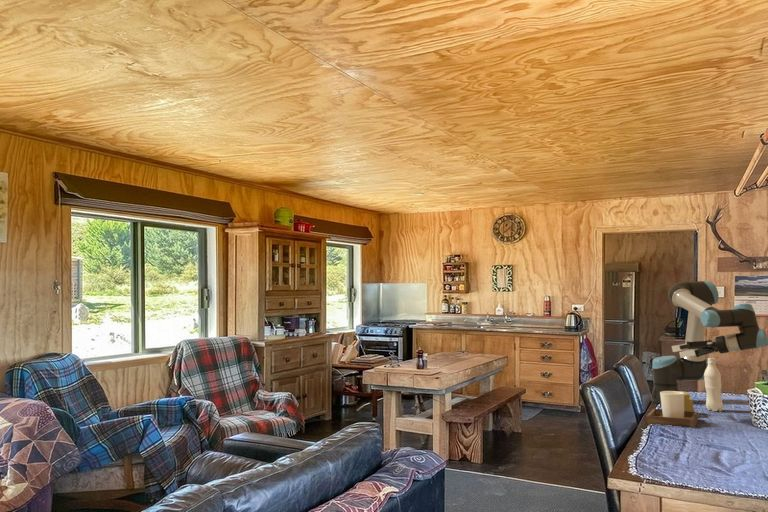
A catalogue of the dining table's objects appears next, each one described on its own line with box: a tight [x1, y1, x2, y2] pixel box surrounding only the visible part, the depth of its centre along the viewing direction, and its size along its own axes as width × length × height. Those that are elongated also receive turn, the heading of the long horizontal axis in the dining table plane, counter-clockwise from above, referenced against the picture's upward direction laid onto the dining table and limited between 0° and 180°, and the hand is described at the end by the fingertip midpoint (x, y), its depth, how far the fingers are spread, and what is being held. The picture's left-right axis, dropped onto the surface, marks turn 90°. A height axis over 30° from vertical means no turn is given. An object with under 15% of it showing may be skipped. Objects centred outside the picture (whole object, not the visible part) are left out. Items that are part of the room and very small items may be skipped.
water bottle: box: [703, 357, 724, 412], centre depth 282 cm, size 7×7×25 cm
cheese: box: [679, 390, 696, 412], centre depth 275 cm, size 10×11×10 cm
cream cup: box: [660, 391, 684, 418], centre depth 259 cm, size 10×10×12 cm
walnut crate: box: [645, 408, 699, 429], centre depth 260 cm, size 18×18×4 cm
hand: (676, 352), depth 271 cm, fingers open, 13 cm apart
